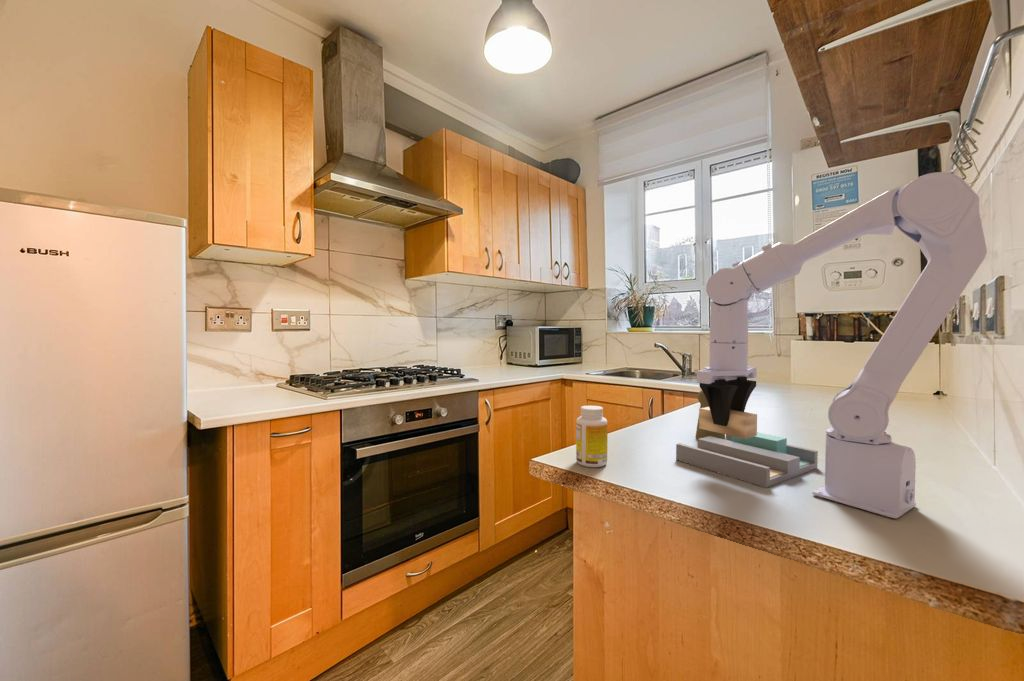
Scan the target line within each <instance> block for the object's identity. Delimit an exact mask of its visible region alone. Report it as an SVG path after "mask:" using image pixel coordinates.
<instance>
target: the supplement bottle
mask: <svg viewBox="0 0 1024 681" xmlns="http://www.w3.org/2000/svg"><path fill="white" fill-rule="evenodd" d="M575 421H576V422H575V426H576V427H575V428H576V429H575V431H576V432H575V433H576V434H575V436H576V437H575V439H576V440H575V441H576V442H575V444H576V446H575V448H576V450H575V454H576V456H575V457H576V458H575V460H576V463H578V465H581V466H582V467H586V468H602V467H604V466H606V465H607V463H608V419H607V418H606V417H604V407H603V406H600V405H591V404H590V405H583V406H582V405H581V406H580V416H579V417H577V418H576V420H575Z"/></svg>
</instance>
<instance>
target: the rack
mask: <svg viewBox="0 0 1024 681" xmlns="http://www.w3.org/2000/svg"><path fill="white" fill-rule="evenodd" d="M725 439H726V440H725ZM725 439H720V438H716V437H712V436H708V437H704V438H700V439H698V440H697V446H696V447H695V446H691V445H687V444H684V443H680V442H678V443H676V445H675V446H676V447H675V451H676V452H675V454H676V455H675V461H678V460H679V461H678V462H681V461H682V462H681V463H684V462H686V463H685V464H687V463H689V464H688V465H691V464H692V465H691V466H694V465H695V467H697V466H699V467H698V468H700V467H702V468H701V469H704V468H706V469H705V470H707V469H709V470H708V471H710V470H712V471H711V472H713V471H715V472H714V473H716V472H719V473H718V474H720V473H721V475H723V474H725V475H724V476H726V475H728V476H727V477H729V476H731V477H730V478H733V477H734V479H736V478H737V480H739V479H740V481H742V480H744V481H743V482H746V481H747V482H746V483H749V482H751V483H750V484H752V483H753V485H755V484H756V486H758V485H759V486H758V487H762V488H765V487H766V488H765V489H767V488H770V487H773V486H775V485H777V484H780V483H782V482H785V481H788V480H790V479H792V478H795V477H798V476H800V475H803V474H806V473H808V472H811V471H813V470H816V469H817V468H818V459H819V458H818V456H819V455H818V450H816V449H815V450H814V449H810V448H806V447H802V446H796V445H793V444H789V443H787V446H786V454H784V453H780V452H776V451H771V450H767V449H763V448H759V447H754V446H750V445H746V444H742V443H737V442H733V441H732V436H731V435H727V434H725ZM772 485H773V486H772Z"/></svg>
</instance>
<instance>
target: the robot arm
mask: <svg viewBox="0 0 1024 681" xmlns="http://www.w3.org/2000/svg"><path fill="white" fill-rule="evenodd" d="M901 188H902V186H901V185H900V186H897V187H894V188H892V189H889V190H887V191H885V192H883V193H882V194H880V195H878V196H876V197H874V198H872V199H871V200H869V201H867V202H865V203H863V204H862V205H860V206H858V207H857V208H854V209H853V210H851V211H849V212H847V213H846V214H844V215H842V216H841V217H839V218H837V219H835V220H833V221H832V222H829V223H828V224H826V225H824V226H823V227H821V228H819V229H818V230H816V231H813V232H812V233H810V234H808V235H807V236H804V237H803V238H802V239H800V240H798V241H796V242H795V243H787V242H781V241H779V242H777V243H775V244H772V243H767V244H765V245H763V246H761V250H762V251H760V252H758V253H756V254H754V255H752V256H751V257H748V258H747V259H745V260H743V261H741V262H740V261H736V262H733V263H732V264H731V266H732V268H731V267H723V268H720V269H718V270H717V271H716V272H714V273H713V274H712V275H711V276H710V277H709V279H708V280H707V282H706V287H705V290H706V294H707V296H708V297H709V299H710V316H709V364H708V365H709V366H704V367H703V369H701V370H697V371H696V383H698V384H699V388H700V390H702V391H703V393H704V395H705V397H706V399H707V402H708V404H709V408H710V412H711V416H712V419H713V423H714V424H717V425H722V426H727V425H728V421H729V416H730V410H735V411H741V412H745V410H746V406H747V403H748V401H749V399H750V396H751V394H752V393H753V391H754V390H755V388H756V387H757V380H750V379H756V378H757V367H756V366H749V364H748V362H749V360H748V359H749V358H748V357H749V356H748V355H749V353H748V352H749V344H748V343H749V341H748V340H749V315H748V301H749V300H750V299H751V297H752V295H753V294H756V295H758V294H760V293H762V292H764V291H766V290H769V289H771V288H773V287H775V286H777V285H779V284H781V283H783V282H785V281H787V280H790V279H791V278H794V277H796V276H798V275H799V274H800V272H801V270H802V268H803V265H804V264H805V263H806V262H807V261H809V260H812V259H814V258H816V257H819V256H821V255H823V254H825V253H828V252H830V251H832V250H834V249H837V248H838V247H841V246H843V245H845V244H847V243H850V242H852V241H855V240H856V239H859V238H861V237H862V236H865V235H883V236H884V235H887V236H888V235H893V232H894V228H895V227H896V228H897V229H898V230H899V231H900V232H902V233H903V234H904V235H905V236H906V237H908V238H910V239H911V240H913V241H914V242H916V245H917V247H918V248H919V249H920V250H921V253H922V254H923V255H924V257H925V259H926V261H927V264H926V266H925V267H924V269H922V271H921V273H920V275H919V276H918V278H917V279H916V281H915V283H914V284H913V286H912V288H911V289H910V291H909V292H908V293H907V296H906V298H905V299H904V301H903V302H902V303H901V305H900V306H899V308H898V310H897V312H896V313H895V315H894V316H893V318H892V320H891V322H890V323H889V325H888V326H887V328H886V329H885V331H884V333H883V334H882V336H881V338H880V339H879V341H878V342H877V344H876V345H875V347H874V348H873V350H872V352H871V353H870V355H869V356H868V358H867V360H866V362H865V363H864V364H863V366H862V368H860V371H859V372H858V374H857V375H856V376H855V379H854V380H853V381H852V383H851V384H850V385H848V386H847V387H845V388H843V389H842V390H840V391H839V392H837V393H836V394H835V396H834V398H833V399H832V402H831V404H830V405H829V408H828V411H827V418H828V421H829V424H830V426H831V427H829V428H826V430H825V452H824V453H825V454H824V455H825V459H824V460H825V461H824V462H825V463H824V464H825V465H824V485H823V486H820V487H819V488H816V489H815V490H812V492H811V493H812V495H813V496H817V497H819V498H823V499H827V500H830V501H834V502H836V503H840V504H843V505H848V506H850V507H854V508H858V509H861V510H864V511H867V512H870V513H874V514H877V515H881V516H884V517H887V518H890V519H891V518H892V519H898V518H900V517H902V516H903V515H905V514H906V513H907V512H908V511H910V510H912V509H913V508H914V507H916V506H917V502H916V499H915V496H916V494H915V493H916V454H915V451H914V449H913V448H912V447H910V446H907V445H902V444H898V443H895V442H893V441H892V436H891V435H890V434H888V433H887V432H886V430H887V428H888V426H889V422H890V419H889V418H890V417H889V410H890V408H891V405H892V403H893V402H894V401H895V399H896V397H897V395H898V393H899V391H900V389H901V388H902V384H903V383H904V382H905V380H906V378H907V376H908V375H909V374H910V372H911V371H912V369H913V367H914V366H915V365H916V363H917V361H918V360H919V358H920V357H921V355H922V354H923V352H924V351H925V349H926V347H928V345H929V343H930V342H931V340H932V338H934V336H935V334H936V333H937V332H938V329H939V328H940V327H941V325H942V324H943V322H944V320H945V319H946V317H947V316H948V314H949V313H950V311H951V310H952V309H953V307H954V305H955V304H956V303H957V301H958V299H959V298H960V296H961V295H962V294H963V292H964V290H965V289H966V288H967V286H968V284H969V283H970V281H971V280H972V279H973V277H974V275H975V273H977V271H978V269H979V268H980V267H981V264H982V263H983V262H984V260H985V258H986V255H987V251H988V248H987V244H986V238H985V233H984V229H983V223H982V220H981V214H980V197H979V195H978V194H977V193H976V192H975V191H974V189H973V188H972V187H971V186H970V185H969V184H968V183H967V182H966V181H965V180H964V179H963V178H962V177H960V176H959V175H957V174H954V173H952V172H946V171H945V172H944V171H937V172H930V173H926V174H923V175H921V176H918V177H915V179H913V180H911V181H909V183H907V184H906V185H905V186H904V187H903V188H902V190H901Z"/></svg>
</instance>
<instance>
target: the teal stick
mask: <svg viewBox="0 0 1024 681" xmlns="http://www.w3.org/2000/svg"><path fill="white" fill-rule="evenodd" d="M732 441H733V442H737V443H742V444H746V445H750V446H754V447H759V448H763V449H767V450H771V451H776V452H780V453H784V454H786V446H787V444H788V443H787V441H788V440H787V437H784V436H777V435H772V434H767V433H764V432H758V431H757V436H753V437H749V438H746V439H745V438H740V437H736V436H732Z"/></svg>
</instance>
